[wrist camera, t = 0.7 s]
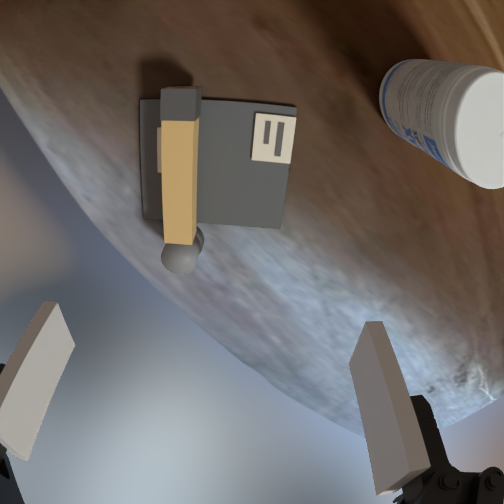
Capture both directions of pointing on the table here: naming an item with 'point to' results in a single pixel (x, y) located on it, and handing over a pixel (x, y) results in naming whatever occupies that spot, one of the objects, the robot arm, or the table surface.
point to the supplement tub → (449, 115)
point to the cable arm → (180, 175)
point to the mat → (220, 166)
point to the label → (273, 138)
